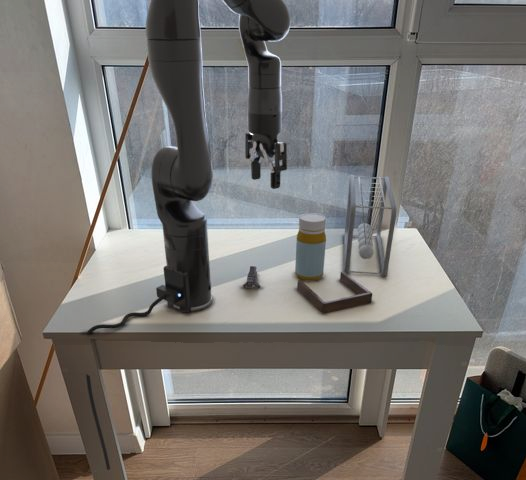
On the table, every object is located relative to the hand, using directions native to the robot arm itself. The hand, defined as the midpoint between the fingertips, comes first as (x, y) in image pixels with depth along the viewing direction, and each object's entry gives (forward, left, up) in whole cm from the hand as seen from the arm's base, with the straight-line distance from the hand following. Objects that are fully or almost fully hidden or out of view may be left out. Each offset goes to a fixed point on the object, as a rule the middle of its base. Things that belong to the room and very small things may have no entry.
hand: (265, 183), depth 121 cm
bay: (-5, -23, -21) cm, 32 cm away
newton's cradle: (+21, -18, -21) cm, 35 cm away
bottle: (+1, -13, -21) cm, 25 cm away
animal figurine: (-12, -5, -21) cm, 25 cm away
